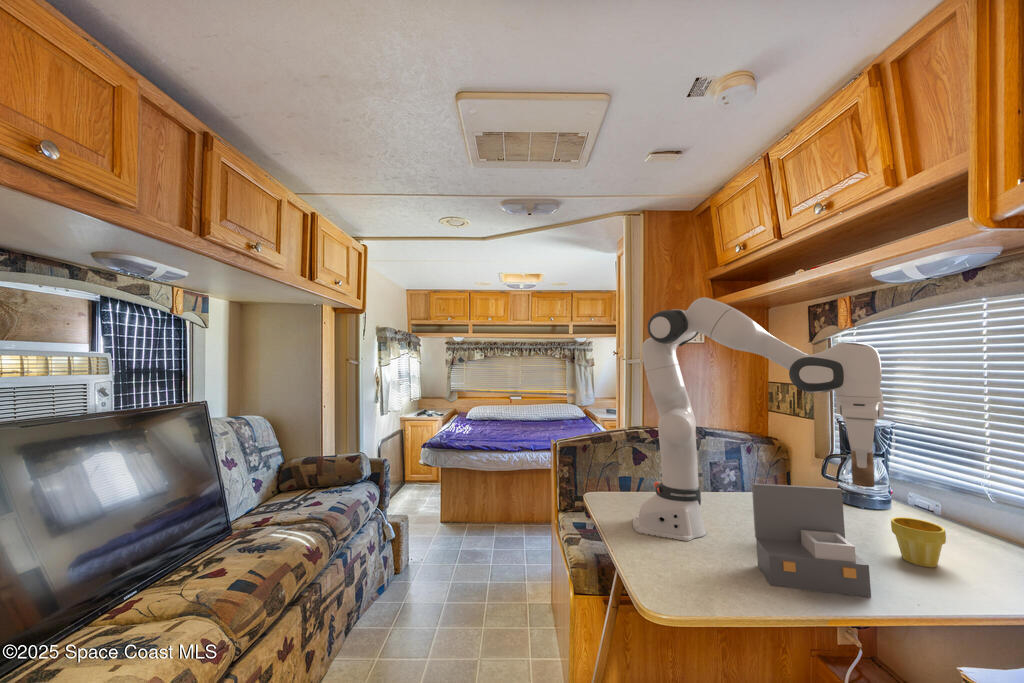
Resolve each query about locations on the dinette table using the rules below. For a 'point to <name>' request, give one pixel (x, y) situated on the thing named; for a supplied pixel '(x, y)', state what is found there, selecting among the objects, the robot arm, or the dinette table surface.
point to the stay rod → (863, 471)
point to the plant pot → (919, 540)
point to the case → (806, 540)
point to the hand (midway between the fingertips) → (861, 465)
